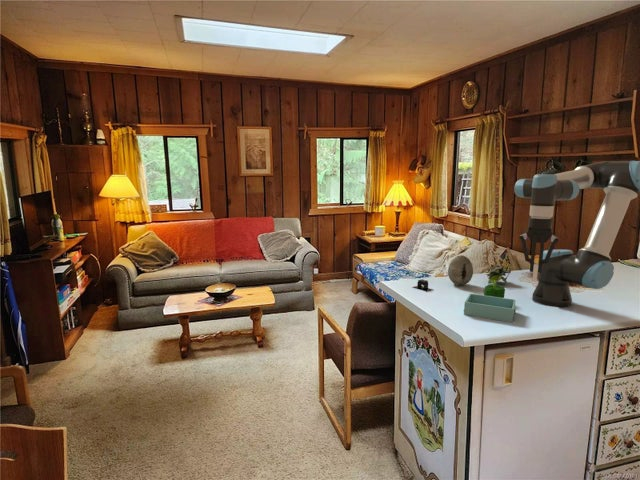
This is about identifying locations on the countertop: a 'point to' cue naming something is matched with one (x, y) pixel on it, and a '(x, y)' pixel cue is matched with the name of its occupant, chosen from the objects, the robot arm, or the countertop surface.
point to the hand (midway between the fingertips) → (534, 280)
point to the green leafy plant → (498, 274)
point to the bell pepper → (494, 290)
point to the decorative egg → (460, 270)
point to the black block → (425, 285)
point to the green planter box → (490, 307)
